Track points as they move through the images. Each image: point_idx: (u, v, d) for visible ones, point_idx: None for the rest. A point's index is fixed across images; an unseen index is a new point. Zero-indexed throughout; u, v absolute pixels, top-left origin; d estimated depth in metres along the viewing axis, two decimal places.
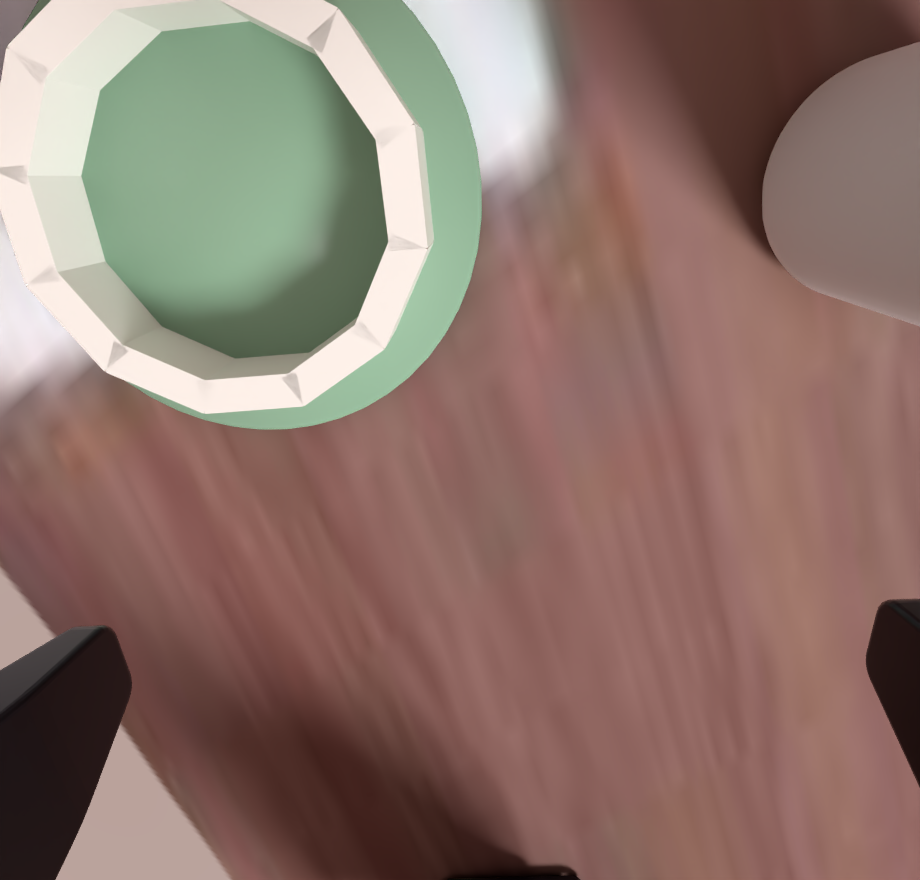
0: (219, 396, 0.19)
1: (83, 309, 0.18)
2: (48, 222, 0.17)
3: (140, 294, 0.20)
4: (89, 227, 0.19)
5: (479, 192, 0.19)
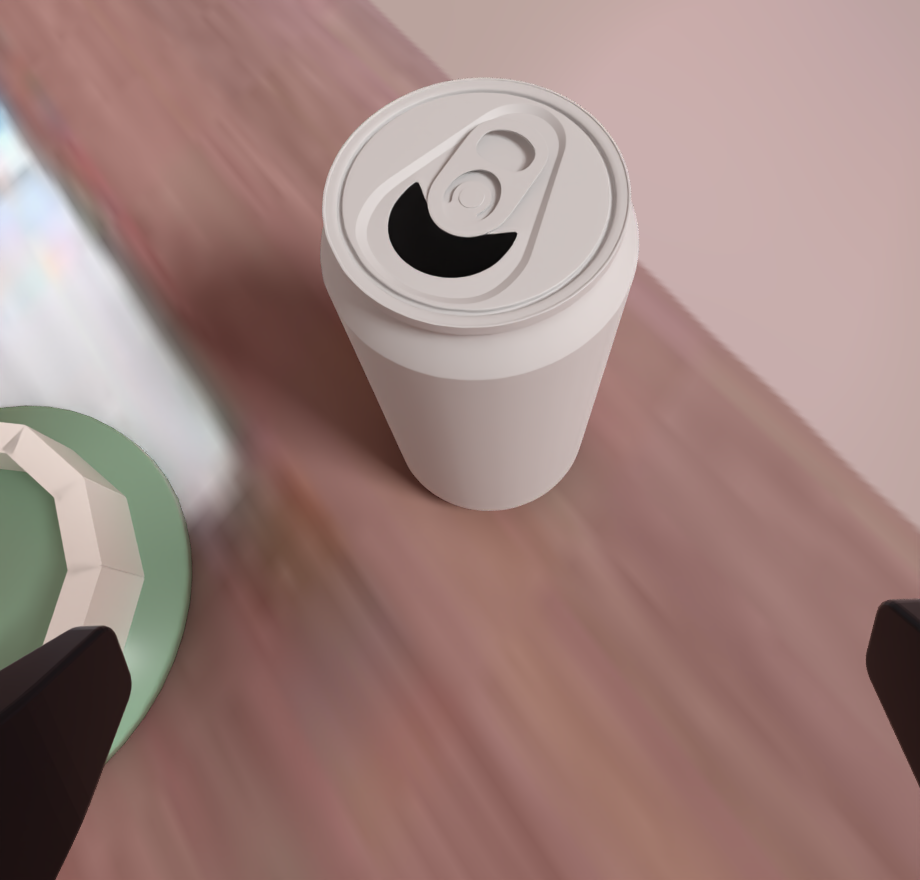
0: None
1: None
2: None
3: None
4: None
5: (177, 527, 0.22)
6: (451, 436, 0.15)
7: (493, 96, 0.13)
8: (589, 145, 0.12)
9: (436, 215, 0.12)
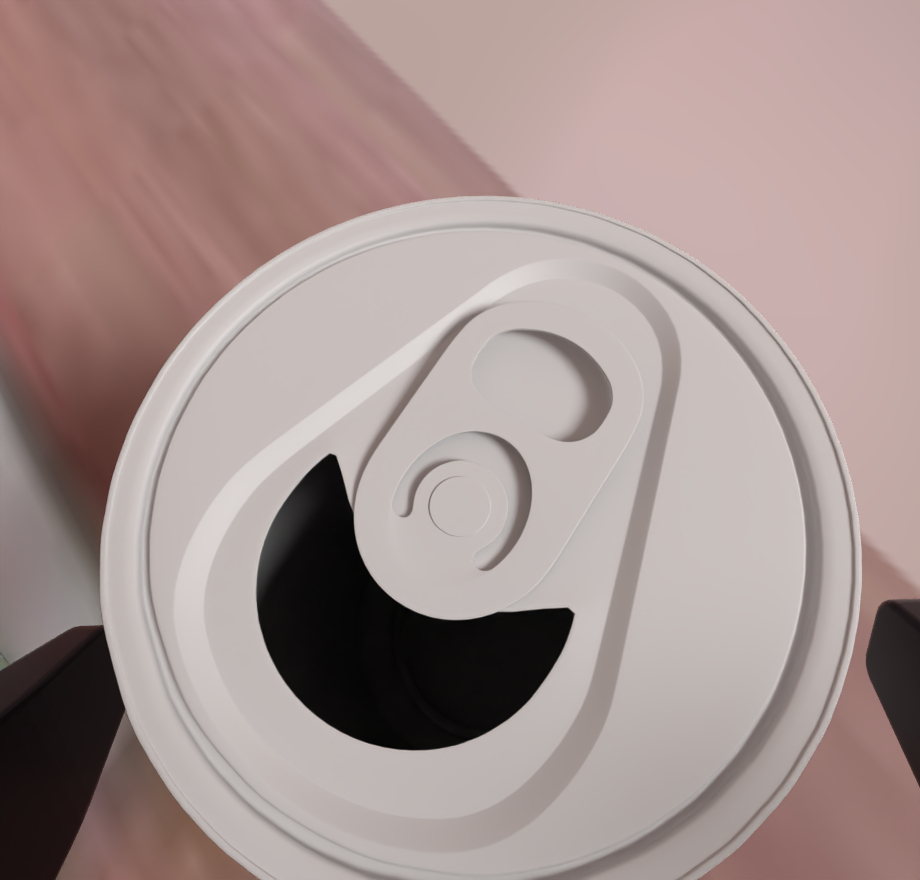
0: None
1: None
2: None
3: None
4: None
5: None
6: None
7: (507, 236, 0.06)
8: (737, 368, 0.05)
9: (374, 549, 0.05)
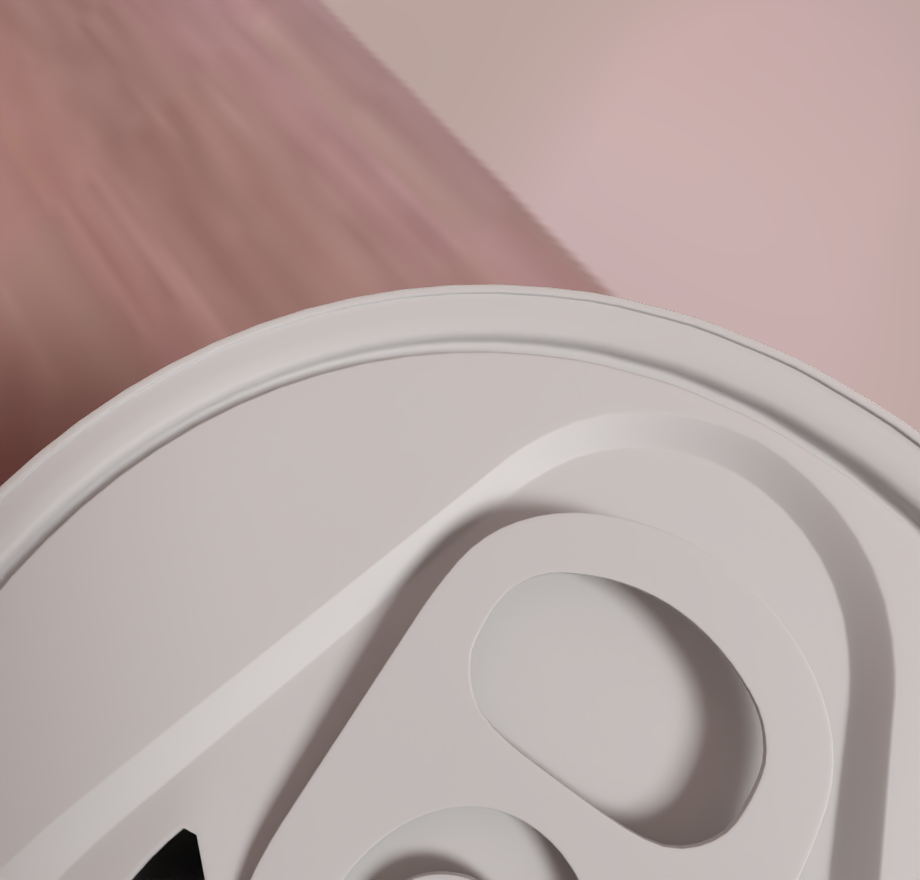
0: None
1: None
2: None
3: None
4: None
5: None
6: None
7: (534, 358, 0.03)
8: None
9: None
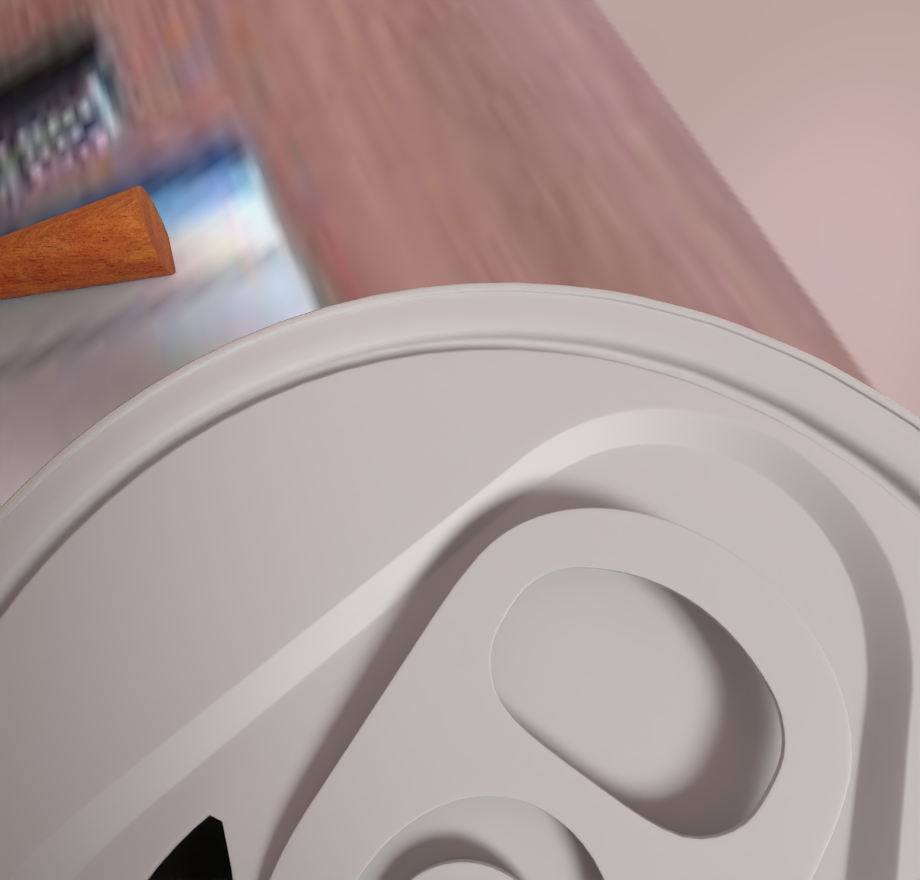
0: None
1: None
2: None
3: None
4: None
5: None
6: None
7: (554, 355, 0.03)
8: None
9: None
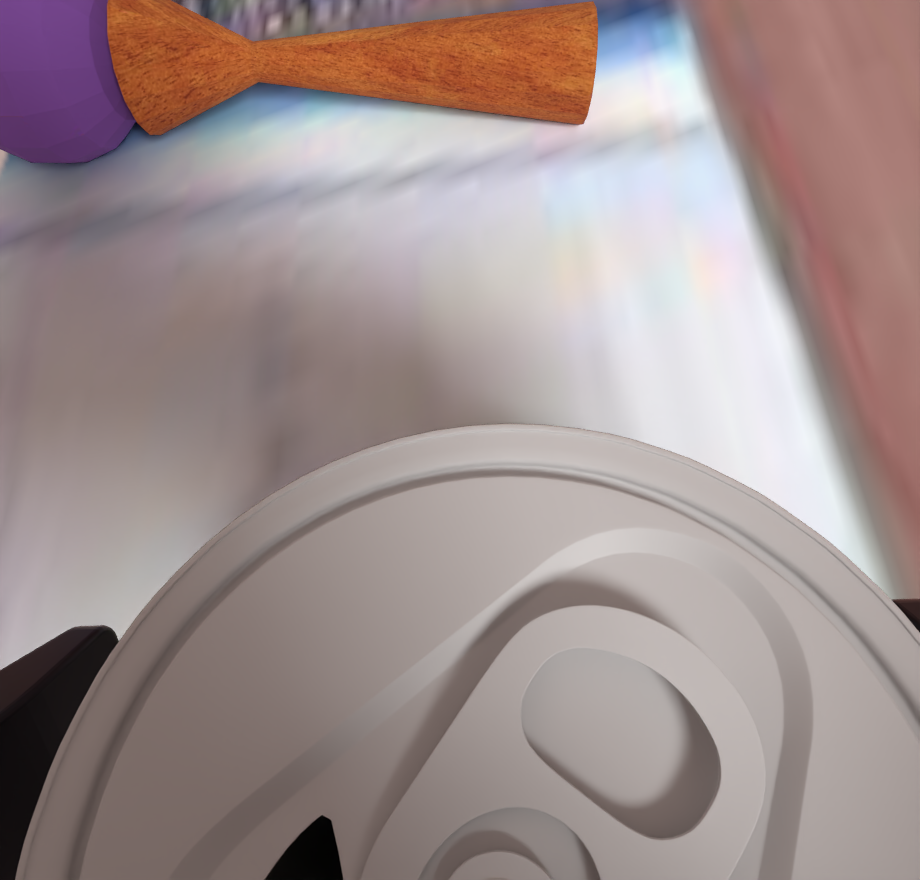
0: None
1: None
2: None
3: None
4: None
5: None
6: None
7: (568, 481, 0.04)
8: (892, 721, 0.04)
9: None
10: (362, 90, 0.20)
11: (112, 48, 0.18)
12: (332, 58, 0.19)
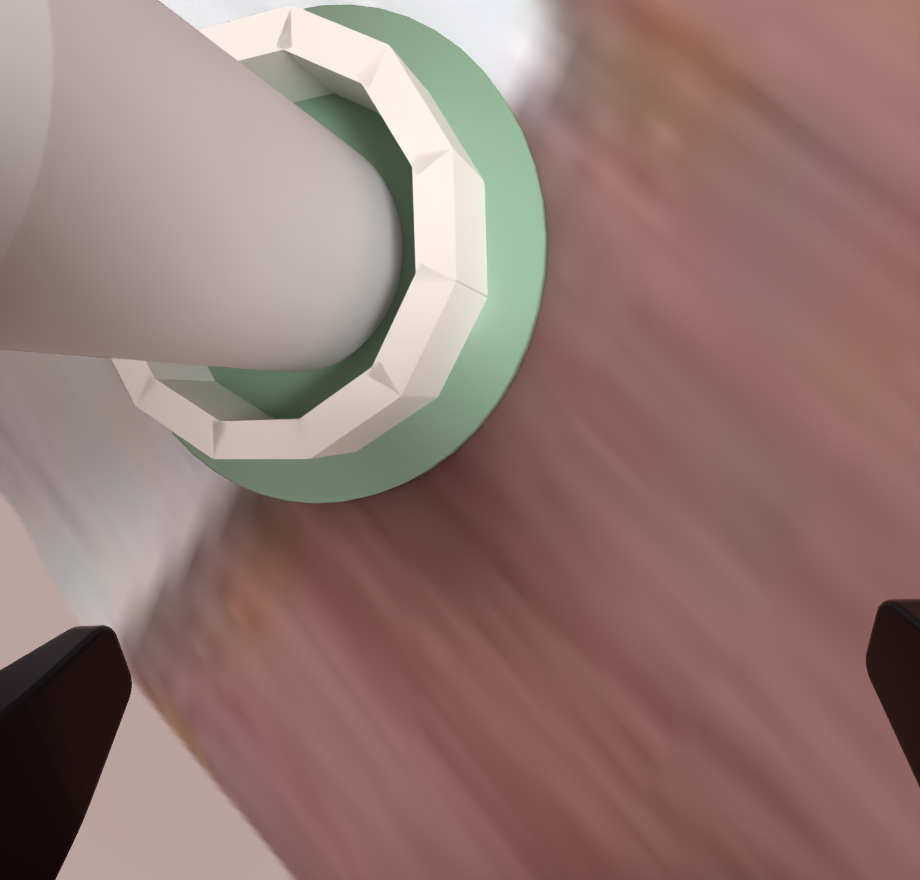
0: (317, 430, 0.16)
1: (181, 403, 0.17)
2: None
3: (249, 396, 0.20)
4: None
5: (506, 107, 0.17)
6: (144, 335, 0.11)
7: None
8: None
9: None
10: None
11: None
12: None
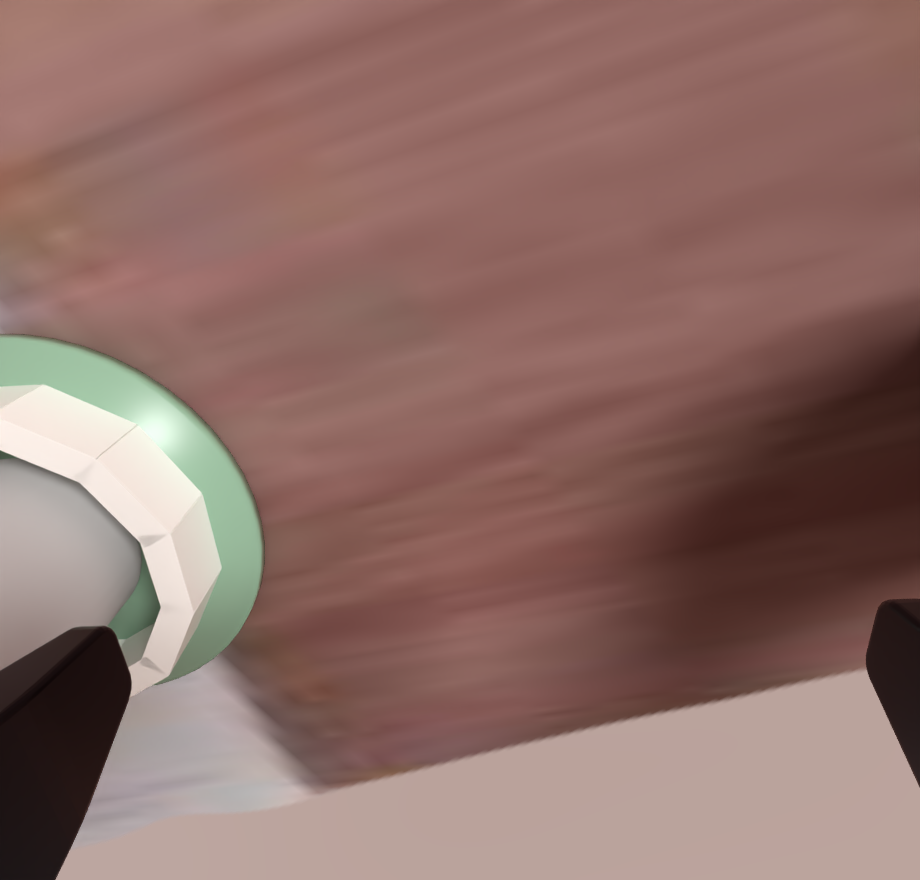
0: (174, 599, 0.20)
1: None
2: None
3: (148, 620, 0.24)
4: None
5: None
6: None
7: None
8: None
9: None
10: None
11: None
12: None
